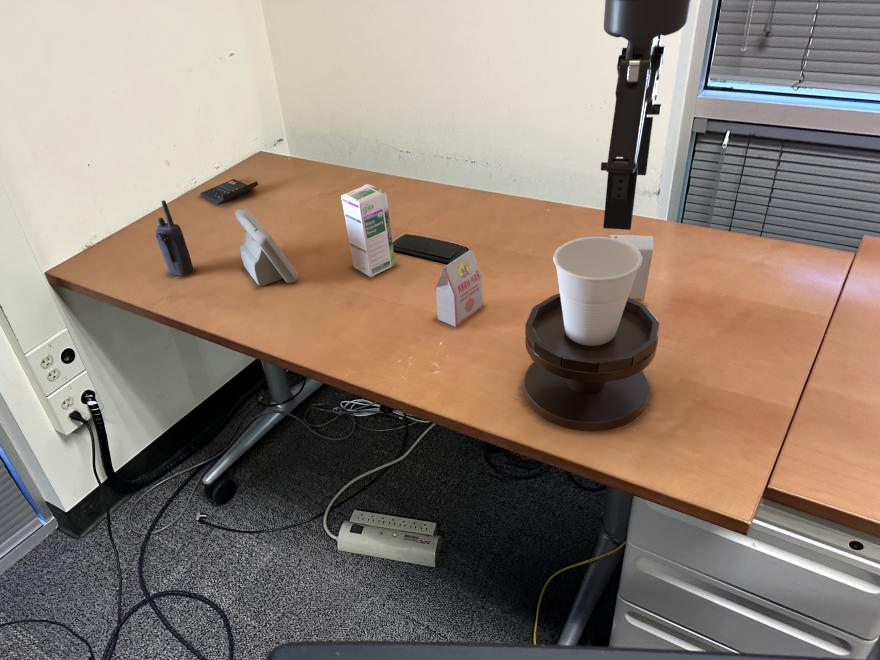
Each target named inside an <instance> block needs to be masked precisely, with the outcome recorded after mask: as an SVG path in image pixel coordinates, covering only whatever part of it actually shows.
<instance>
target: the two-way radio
mask: <svg viewBox="0 0 880 660" xmlns="http://www.w3.org/2000/svg"><path fill="white" fill-rule="evenodd" d="M160 202H161V205H162V206H161V207H162V209H163V212H164V215H165V219H166V222H165V219H164V218H163V217H158V218H157V226H156V227H155V229H154V234H155V238H156V241H157V245H158V247H159V250H160V252H161V255H162V257H163V259H164V260H163V261H164V262H165V265H166V267H167V270H168V272H169V274H170V275H172V276H173V275H174V276H180V277H181V276H182V277H184V276H188V275H191V274H192V273H193V272H194V270H195V269H194V266H193V262H192V258H191V256H190V252H189V249H188V247H187V243H186V240H185V237H184V234H183V231H182V228H181V226H180V225H179V224H176V223H174V220H173V217H172V215H171V212H170V210H169V207H168V204H167V202H166V200H164V199H162V200H161V201H160Z"/></svg>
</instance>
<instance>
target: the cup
mask: <svg viewBox="0 0 880 660" xmlns="http://www.w3.org/2000/svg"><path fill="white" fill-rule="evenodd" d="M552 259H553V260H552V261H553V264H554V265H555V267H556V269H555V270H556V274H557V275H556V276H557V282H558V289H559V294H560V297H561V305H562V312H563V320H564V327H565V333H566V335H567V336H568V337H569V338H570V339H571V340H573V341H574V342H576V343H578V344H581V345H586V346H597V345H602V344H605V343H607V342H609V341H610V340H612V339H613V338H614V337H615V335H616V332H617V329H618V326H619V323H620V320H621V317H622V313H623V310H624V307H625V305H626V302H627V299H628V296H629V293H630V290H631V288H632V285H633V282H634V279H635V276H636V273H637V270H638V268H639V267H640V266H641V264H642V255H641V253H640V251H639V250H638V249H637V248H636V247H635V246H633V245H631V244H630V243H628V242H625V241H622V240H619V239H615V238H610V236H609V237H608V236H585V237H579V238H576V239H572V240H569V241H567V242H565V243H564V244H563V243H562V245H560V246H559V247H558V248H557V249H556V250H555V252H554V253H553V257H552Z"/></svg>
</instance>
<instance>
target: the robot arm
mask: <svg viewBox="0 0 880 660" xmlns="http://www.w3.org/2000/svg"><path fill="white" fill-rule="evenodd" d="M691 3H692V0H605V1H604V13H603V14H604V16H603V30H604V32H605V33H606V34H607V35H609V36H611V37H613V38H622V39H625V40H626V41H627V45H626V47H622V49H621V54H619V55H618V57H617V58H618V59H617V64H616V71H617V81H616V86H615V87H616V88H615V104H614V113H613V119H612V127H611V134H610V142H609V148H608V149H609V150H608V155H607V161H606V162H605V161H601V163H600V171H601V172H602V171H604V172H607V179H606V180H607V181H606V191H605V203H604V215H603V223H602V224H603V225H602V227H603V228H602V229H609V230H624V231H625V230H626V231H631V228H632V222H633V217H634V215H633V214H634V207H635V199H636V198H635V197H636V189H637V180H638V176H646V175H647V170H648V163H649V162H648V161H649V154H650V147H651V137H652V130H653V124H654V123H653V122H654V116H660V115H661V109H662V103H656V101H657V100H658V95H657V90H658V81H659V80H660V75H661V70H662V65H663V63H664V57H665V53H666V51H665V50H666V46H665V45H663V46H662V45H661V44H662V36H664V37H666V36H670V35H674V34H675V33H678V32H679V31H681V30H683V29H684V28H685V27H686V26H687V24H688V22H689V18H690V17H689V16H690V11H691V10H690V9H691Z"/></svg>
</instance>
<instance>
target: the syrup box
mask: <svg viewBox="0 0 880 660" xmlns="http://www.w3.org/2000/svg"><path fill="white" fill-rule="evenodd" d="M340 198H341V205H342V210H343V214H344V216H343V217H344V220H345V227H346V232H347V237H348V244H349V249H350V255H351V260H352V266H353V268H355V269H356V270H358V271H359V272H361V273H362V274H364V275H366V276H367V277H369V278H373V277H374V276H376V275H379V274H381V273H382V272H384V271H386V270H388V269H390V268H393V267H395V266H396V259H395V250H394V243H393V236H392V227H391V220H390V213H389V204H388V197H387V192H386V191H385V190H383V189H381V188H380V187H377V186H374V185H372V184H368V183H366V184H364V185H363V186H361V187H358V188H356V189H353V190H351V191H348V192H347V193H344V194H341V195H340Z"/></svg>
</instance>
